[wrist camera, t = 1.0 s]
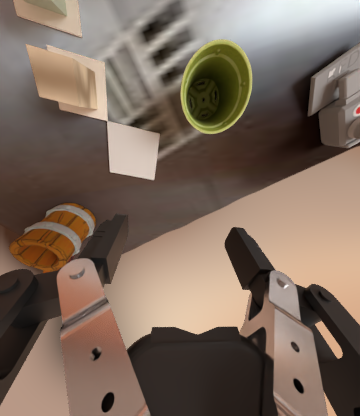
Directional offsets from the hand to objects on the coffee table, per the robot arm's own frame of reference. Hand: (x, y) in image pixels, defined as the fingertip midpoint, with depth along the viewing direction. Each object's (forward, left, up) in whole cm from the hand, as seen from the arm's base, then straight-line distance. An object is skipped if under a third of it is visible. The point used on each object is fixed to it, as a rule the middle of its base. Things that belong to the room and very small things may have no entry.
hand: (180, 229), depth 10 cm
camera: (-16, +28, -24) cm, 40 cm away
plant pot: (-11, +3, -24) cm, 27 cm away
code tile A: (-8, -18, -24) cm, 31 cm away
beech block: (-8, -18, -23) cm, 30 cm away
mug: (+24, -24, -24) cm, 41 cm away
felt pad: (+1, -9, -24) cm, 25 cm away
